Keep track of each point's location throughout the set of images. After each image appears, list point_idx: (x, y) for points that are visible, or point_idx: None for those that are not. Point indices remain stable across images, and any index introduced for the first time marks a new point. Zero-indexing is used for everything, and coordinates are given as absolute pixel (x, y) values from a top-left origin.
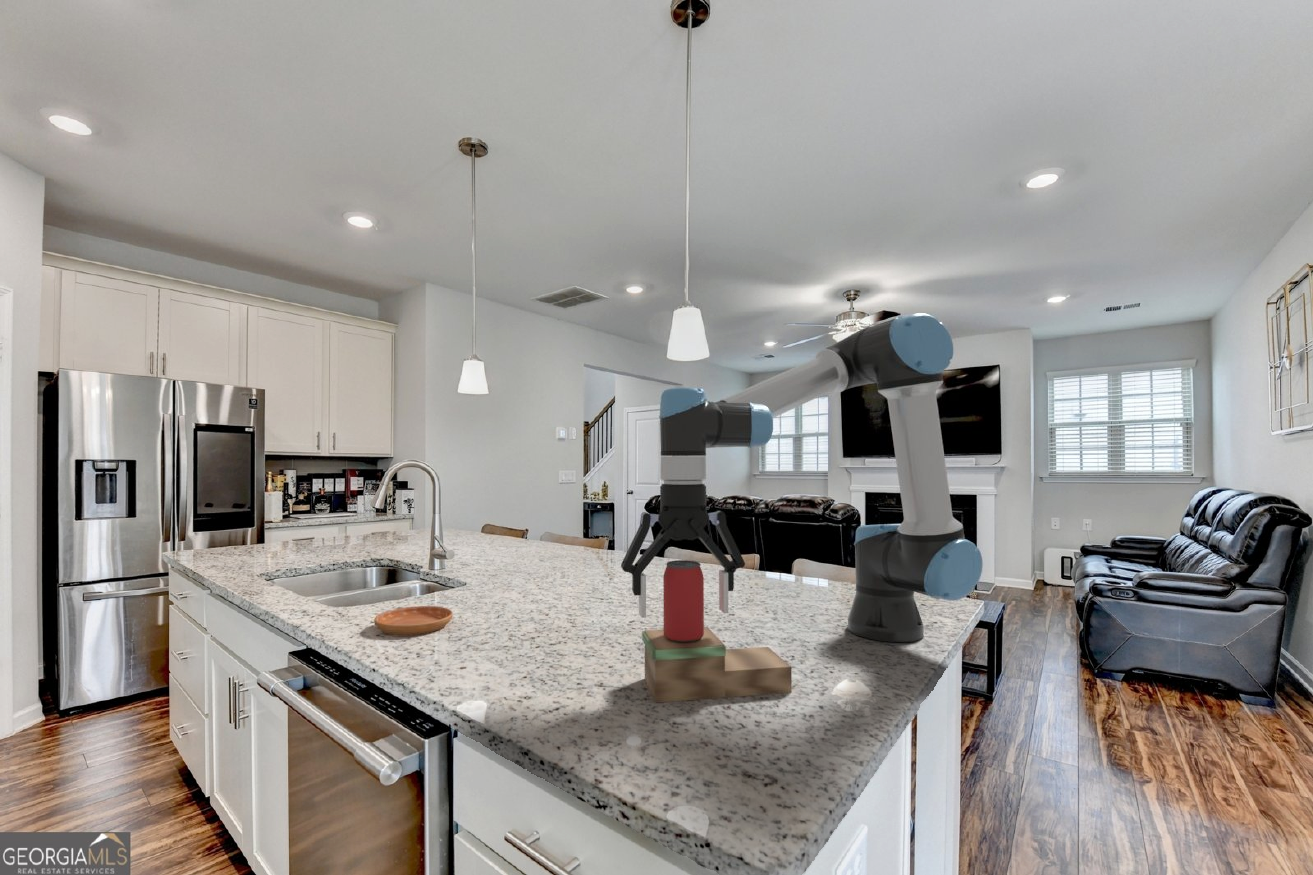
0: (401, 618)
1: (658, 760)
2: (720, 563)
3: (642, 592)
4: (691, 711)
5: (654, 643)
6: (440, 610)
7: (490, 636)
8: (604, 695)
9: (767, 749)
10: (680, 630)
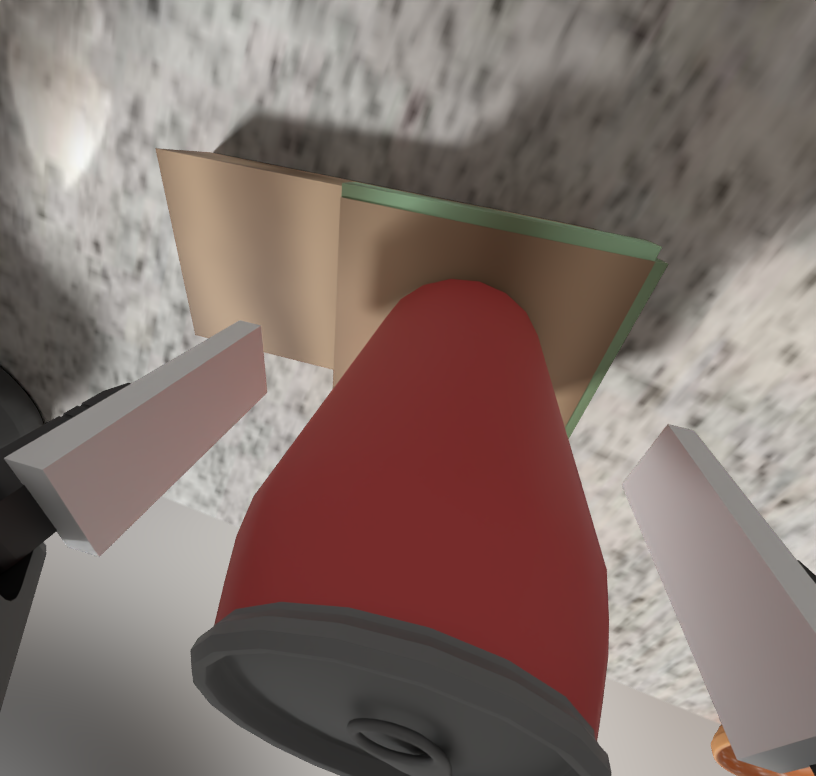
0: None
1: None
2: (21, 602)
3: (784, 554)
4: (532, 120)
5: (603, 335)
6: (723, 758)
7: (688, 663)
8: (689, 333)
9: None
10: (509, 307)
